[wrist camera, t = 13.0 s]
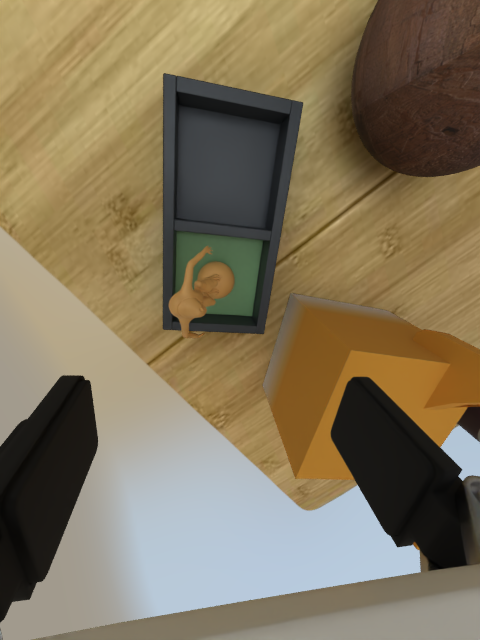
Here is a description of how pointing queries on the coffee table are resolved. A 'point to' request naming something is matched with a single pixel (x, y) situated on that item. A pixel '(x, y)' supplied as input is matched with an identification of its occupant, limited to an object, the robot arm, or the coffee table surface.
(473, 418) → the wine bottle
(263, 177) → the tray
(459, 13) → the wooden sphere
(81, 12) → the coffee table surface
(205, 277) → the figurine
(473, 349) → the fox head
